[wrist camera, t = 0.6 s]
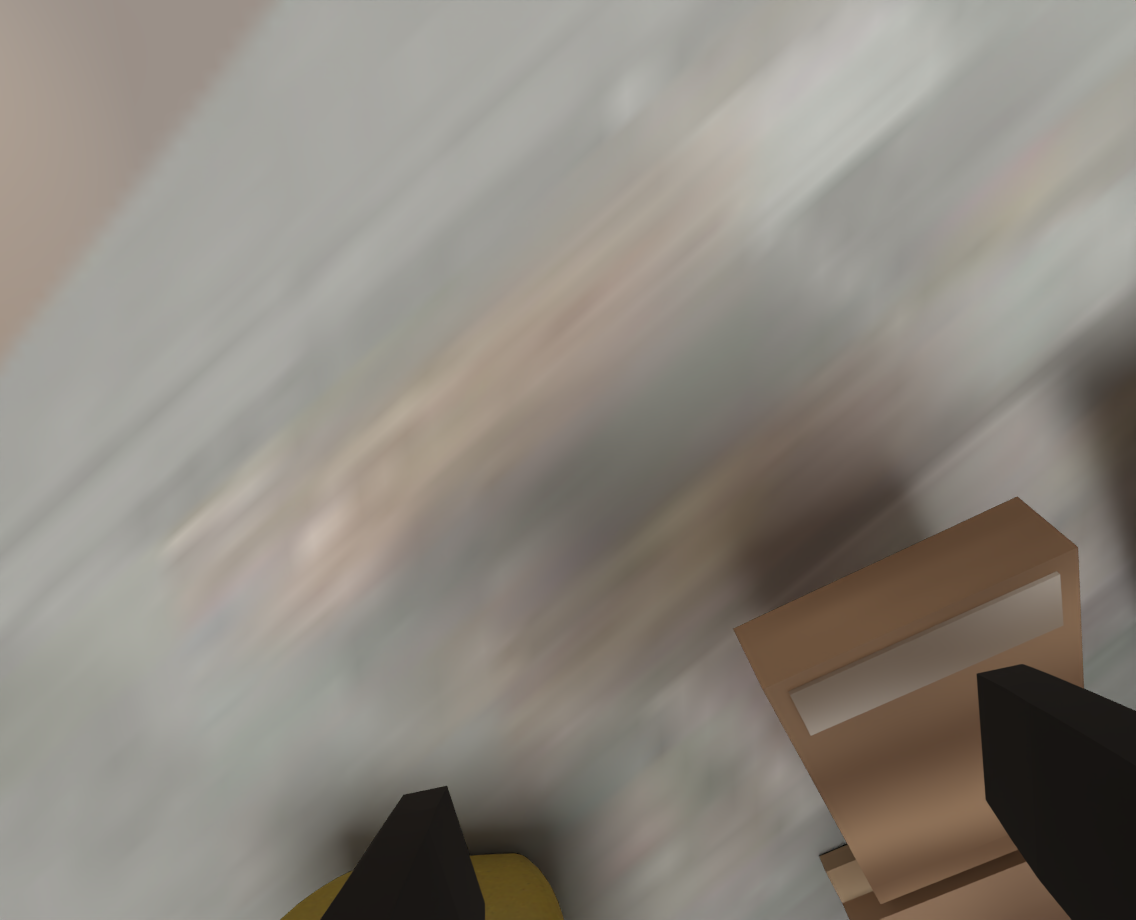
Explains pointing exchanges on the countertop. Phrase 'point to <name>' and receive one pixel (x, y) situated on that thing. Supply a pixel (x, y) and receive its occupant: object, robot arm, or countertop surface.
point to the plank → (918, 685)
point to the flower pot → (507, 881)
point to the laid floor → (948, 893)
